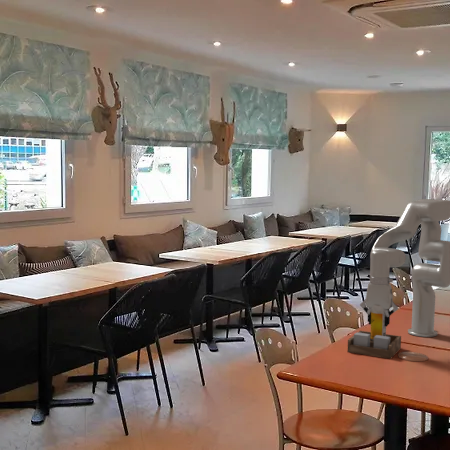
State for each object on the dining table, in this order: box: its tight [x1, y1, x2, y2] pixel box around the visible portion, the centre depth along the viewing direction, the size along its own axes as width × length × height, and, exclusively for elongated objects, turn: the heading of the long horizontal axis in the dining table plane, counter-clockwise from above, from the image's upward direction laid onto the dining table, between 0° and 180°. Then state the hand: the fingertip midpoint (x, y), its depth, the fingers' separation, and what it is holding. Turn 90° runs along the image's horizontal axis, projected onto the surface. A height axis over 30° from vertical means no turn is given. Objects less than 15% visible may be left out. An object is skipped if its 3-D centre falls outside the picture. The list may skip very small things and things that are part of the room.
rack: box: [347, 330, 402, 360], centre depth 250 cm, size 17×17×5 cm
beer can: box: [370, 305, 387, 341], centre depth 253 cm, size 6×6×15 cm
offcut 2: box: [374, 335, 391, 350], centre depth 244 cm, size 4×6×7 cm
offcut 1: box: [353, 331, 370, 347], centre depth 248 cm, size 4×6×7 cm
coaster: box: [397, 351, 429, 363], centre depth 241 cm, size 11×11×1 cm
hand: (378, 324), depth 253 cm, fingers closed on beer can, 5 cm apart
